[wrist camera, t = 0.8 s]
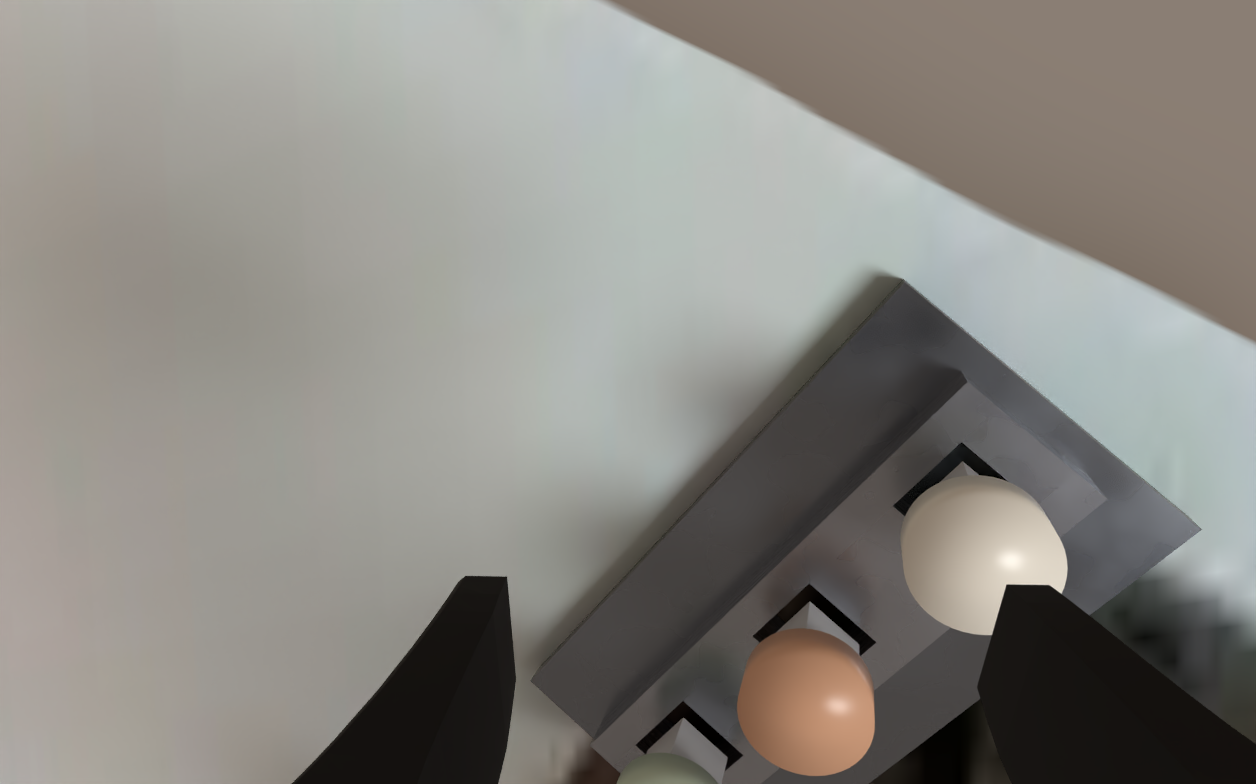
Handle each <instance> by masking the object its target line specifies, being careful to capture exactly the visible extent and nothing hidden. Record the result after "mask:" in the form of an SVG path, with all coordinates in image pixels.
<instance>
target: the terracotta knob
mask: <svg viewBox="0 0 1256 784" xmlns="http://www.w3.org/2000/svg"><path fill="white" fill-rule="evenodd" d="M737 713H738V719H739V723H740V726H741V728H742V731H743V733H744V735H745V736H746V738H747V740H748V741H749V743H750V744H751V745H752V746H753V748H754V749H755V750H756V751H757V752H758V753H759V754H760V755H762V756H763V757H764V758H765V759H766V760H768V761H769V762H771V763H773V764H774V765H776V766H778V767H780V768H782V769H784V770H787V771H790V772H793V773H797V774H801V775H807V776H825V775H831V774H835V773H838V772H841V771H844V770H846V769H848V768H850V767H851V766H853V765H854V764H856V763H857V762H858V761H859V760H860V759H861V758H862V757H863V756H864V755H865V753H866V752H867V751H868V749H869V747H870V745H871V742H872V740H873V736H874V730H875V714H874V687H873V681H872V677H871V674H870V672H869V670H868V667H867V666H866V664H865V662H864V661H863V659H862V658H861V657H860V656H859V644H858V643H857V642H856V641H855V640H853V639H852V638H851V637H850V636H849V635H848V634H847V633H845V632H844V631H843V630H842V629H841V628H840V627H839V626H837V625H836V624H835V623H834V622H833V621H832V620H831V619H830V618H828V617H827V616H826V615H825V614H824V613H823V612H822V611H820V610H819V609H818V608H817V607H816V606H815V605H814V604H812V603H811V602H809V603H807V604H806V605H805V606H804V607H803V608H802V609H801V610H800V611H799V612H798V613H797V614H795V615H794V616H793V617H792V618H791V619H790V620H789V621H788V622H787V623H786V624H785V625H783V626H782V627H781V628H780V629H779V630H778V631H777V632H776V633H775V634H772V635H770V636H769V637H767V638H765V639H764V640H763V641H761V642H760V643H759V644H758V645H757V646H756V647H755V648H754V650H753V651H752V653H751V654H750V656H749V658H748V661H747V664H746V667H745V671H744V675H743V679H742V683H741V687H740V691H739V695H738V701H737Z"/></svg>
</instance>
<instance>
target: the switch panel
mask: <svg viewBox="0 0 1256 784" xmlns="http://www.w3.org/2000/svg"><path fill="white" fill-rule="evenodd" d="M961 442H962V443H963V444H965V445H966V446H967V447H968V448H969V449H970V450H972V451H973V452H974V453H975V454H976V455H978V456H979V457H980V458H981V459H982V460H983V461H985V462H986V463H987V464H988V465H989V466H991V467H992V468H993V469H994V470H995V471H996V472H998V473H999V474H1000V475H1001V476H1002V477H1004V478H1005V479H1006V480H1007V481H1008V482H1010V483H1012V484H1014V485H1016V486H1018V487H1019V488H1021V489H1023V490H1024V491H1025V492H1027V493H1028V494H1029V495H1031V496H1032V497H1033V498H1034V499H1035V500H1036V501H1037V502H1038V504H1039V505H1040V506H1041V508H1042V509H1043V510H1044V512H1045V514H1046V516H1047V517H1048V519H1049V521H1050V522H1051V524H1052V526H1053V528H1054V529H1055V531H1056V533H1057V534H1058V536H1059V538H1060V540H1061V542H1062V544H1063V547H1064V549H1065V553H1066V557H1067V568H1068V569H1067V579H1066V583H1065V587H1064V589H1063V591H1062V595H1064V596H1065V597H1066V598H1068V599H1069V600H1070V601H1071V602H1073V603H1074V604H1075V605H1077V606H1078V607H1079V608H1080V609H1082V610H1083V611H1084V612H1085V613H1087V614H1088V615H1090V614H1092V613H1093V612H1094V611H1096V610H1097V609H1098V608H1100V607H1101V606H1102V605H1104V604H1105V603H1106V602H1107V601H1109V600H1110V599H1111V598H1113V597H1114V596H1115V595H1117V594H1118V593H1119V592H1121V591H1122V590H1123V589H1125V588H1126V587H1127V586H1128V585H1130V584H1131V583H1132V582H1134V581H1135V580H1136V579H1138V578H1139V577H1140V576H1142V575H1143V574H1144V573H1145V572H1147V571H1148V570H1149V569H1151V568H1152V567H1153V566H1155V565H1156V564H1157V563H1159V562H1160V561H1161V560H1163V559H1164V558H1165V557H1166V556H1168V555H1169V554H1170V553H1172V552H1173V551H1174V550H1176V549H1177V548H1178V547H1180V546H1181V545H1182V544H1183V543H1185V542H1186V541H1187V540H1189V539H1190V538H1191V537H1193V536H1194V535H1195V534H1197V533H1198V532H1199V531H1201V530H1202V529H1201V528H1200V527H1199V526H1198V525H1197V524H1196V523H1195V522H1193V521H1192V520H1191V519H1190V518H1189V517H1188V516H1187V515H1186V514H1185V513H1183V512H1182V511H1181V510H1180V509H1179V508H1177V507H1176V506H1175V505H1174V504H1173V503H1171V502H1170V501H1169V500H1168V499H1167V498H1165V497H1164V496H1163V495H1162V494H1161V493H1159V492H1158V491H1157V490H1156V489H1155V488H1153V487H1152V486H1151V485H1150V484H1149V483H1147V482H1146V481H1145V480H1144V479H1143V478H1141V477H1140V476H1139V475H1138V474H1137V473H1135V472H1134V471H1133V470H1132V469H1131V468H1129V467H1128V466H1127V465H1126V464H1125V463H1123V462H1122V461H1121V460H1120V459H1119V458H1117V457H1116V456H1115V455H1114V454H1113V453H1111V452H1110V451H1109V450H1108V449H1107V448H1105V447H1104V446H1103V445H1102V444H1101V443H1099V442H1098V441H1097V440H1096V439H1095V438H1093V437H1092V436H1091V435H1090V434H1089V433H1087V432H1086V431H1085V430H1084V429H1083V428H1081V427H1080V426H1079V425H1078V424H1077V423H1075V422H1074V421H1073V420H1072V419H1071V418H1069V417H1068V416H1067V415H1066V414H1065V413H1063V412H1062V411H1061V410H1060V409H1059V408H1057V407H1056V406H1055V405H1054V404H1053V403H1051V402H1050V401H1049V400H1048V399H1047V398H1045V397H1044V396H1043V395H1042V394H1041V393H1039V392H1038V391H1037V390H1036V389H1035V388H1033V387H1032V386H1031V385H1030V384H1029V383H1027V382H1026V381H1025V380H1024V379H1023V378H1021V377H1020V376H1019V375H1018V374H1017V373H1015V372H1014V371H1013V370H1012V369H1011V368H1009V367H1008V366H1007V365H1006V364H1005V363H1003V362H1002V361H1001V360H1000V359H999V358H997V357H996V356H995V355H994V354H993V353H991V352H990V351H989V350H988V349H987V348H985V347H984V346H983V345H982V344H981V343H979V342H978V341H977V340H976V339H975V338H973V337H972V336H971V335H970V334H969V333H967V332H966V331H965V330H964V329H963V328H961V327H960V326H959V325H958V324H957V323H955V322H954V321H953V320H952V319H951V318H949V317H948V316H947V315H946V314H945V313H944V312H942V311H941V310H940V309H939V308H938V307H936V306H935V305H934V304H933V303H932V302H930V301H929V300H928V299H927V298H926V297H924V296H923V295H922V294H921V293H920V292H918V291H917V290H916V289H915V288H914V287H912V286H911V285H910V284H909V283H908V282H906V281H905V280H904V279H903V280H902V281H901V283H900V284H899V285H898V286H897V287H896V288H895V289H894V290H893V291H892V292H891V293H890V294H889V295H888V296H887V297H886V299H885V300H884V301H883V302H882V303H881V304H880V305H879V306H878V307H877V308H876V309H875V310H874V311H873V312H872V313H871V315H870V316H869V317H868V318H867V319H866V320H865V321H864V322H863V323H862V324H861V325H860V326H859V327H858V328H857V329H856V331H855V332H854V333H853V334H852V335H851V336H850V337H849V338H848V339H847V340H846V341H845V342H844V343H843V344H842V345H841V347H840V348H839V349H838V350H837V351H836V352H835V353H834V354H833V355H832V356H831V357H830V358H829V359H828V360H827V361H826V363H825V364H824V365H823V366H822V367H821V368H820V369H819V370H818V371H817V372H816V373H815V374H814V375H813V376H812V377H811V379H810V380H809V381H808V382H807V383H806V384H805V385H804V386H803V387H802V388H801V389H800V390H799V391H798V392H797V393H796V395H795V396H794V397H793V398H792V399H791V400H790V401H789V402H788V403H787V404H786V405H785V406H784V407H783V408H782V409H781V411H780V412H779V413H778V414H777V415H776V416H775V417H774V418H773V419H772V420H771V421H770V422H769V423H768V424H767V425H766V427H765V428H764V429H763V430H762V431H761V432H760V433H759V434H758V435H757V436H756V437H755V438H754V439H753V440H752V441H751V443H750V444H749V445H748V446H747V447H746V448H745V449H744V450H743V451H742V452H741V453H740V454H739V455H738V456H737V457H736V459H735V460H734V461H733V462H732V463H731V464H730V465H729V466H728V467H727V468H726V469H725V470H724V471H723V472H722V473H721V475H720V476H719V477H718V478H717V479H716V480H715V481H714V482H713V483H712V484H711V485H710V486H709V487H708V488H707V489H706V491H705V492H704V493H703V494H702V495H701V496H700V497H699V498H698V499H697V500H696V501H695V502H694V503H693V504H692V505H691V507H690V508H689V509H688V510H687V511H686V512H685V513H684V514H683V515H682V516H681V517H680V518H679V519H678V520H677V521H676V523H675V524H674V525H673V526H672V527H671V528H670V529H669V530H668V531H667V532H666V533H665V534H664V535H663V536H662V538H661V539H660V540H659V541H658V542H657V543H656V544H655V545H654V546H653V547H652V548H651V549H650V550H649V551H648V552H647V554H646V555H645V556H644V557H643V558H642V559H641V560H640V561H639V562H638V563H637V564H636V565H635V566H634V567H633V568H632V570H631V571H630V572H629V573H628V574H627V575H626V576H625V577H624V578H623V579H622V580H621V581H620V582H619V583H618V584H617V586H616V587H615V588H614V589H613V590H612V591H611V592H610V593H609V594H608V595H607V596H606V597H605V598H604V599H603V600H602V602H601V603H600V604H599V605H598V606H597V607H596V608H595V609H594V610H593V611H592V612H591V613H590V614H589V615H588V616H587V618H586V619H585V620H584V621H583V622H582V623H581V624H580V625H579V626H578V627H577V628H576V629H575V630H574V631H573V632H572V634H571V635H570V636H569V637H568V638H567V639H566V640H565V641H564V642H563V643H562V644H561V645H560V646H559V647H558V648H557V650H556V651H555V652H554V653H553V654H552V655H551V656H550V657H549V658H548V659H547V660H546V661H545V662H544V663H543V664H542V666H541V667H540V668H539V669H538V671H537V672H536V673H535V675H534V676H533V678H532V679H531V682H532V683H534V684H535V685H536V686H537V687H538V688H539V689H540V690H541V691H542V692H543V693H544V694H546V695H547V696H548V697H549V698H550V699H551V700H552V701H553V702H554V703H555V704H556V705H558V706H559V707H560V708H561V709H562V710H563V711H564V712H565V713H566V714H567V715H569V716H570V717H571V718H572V719H573V720H574V721H575V722H576V723H577V724H578V725H579V726H581V727H582V728H583V729H584V730H585V731H586V732H587V733H588V734H589V735H590V736H591V737H593V740H592V742H591V744H590V746H591V747H592V748H593V749H594V750H595V751H597V752H598V753H599V754H600V755H601V756H602V757H603V758H604V759H605V760H606V761H607V762H609V763H610V764H611V765H612V766H613V767H614V768H615V769H616V770H617V771H618V772H619V773H621V772H622V771H623V769H624V768H625V767H626V766H627V765H628V764H629V763H630V762H631V761H632V760H634V759H636V758H638V757H640V756H642V755H645V754H646V753H647V751H648V749H649V748H650V747H651V746H653V745H654V744H655V743H656V742H657V741H658V740H659V739H660V738H661V737H662V736H663V735H665V734H666V733H667V732H668V731H669V730H670V729H671V728H672V727H673V726H674V724H673V723H671V722H670V721H669V720H668V719H667V718H666V716H667V715H668V714H669V713H670V712H671V711H673V710H674V709H675V708H676V707H677V706H678V705H679V704H680V703H681V702H682V701H684V702H685V703H686V704H687V705H688V706H689V707H690V708H692V709H693V710H694V711H695V712H696V713H697V714H698V715H699V716H700V717H702V718H703V719H704V720H705V721H706V722H707V723H708V724H709V725H710V726H712V727H713V728H714V729H715V730H716V731H717V732H718V733H719V734H720V735H721V736H723V737H724V738H723V739H722V740H721V741H720V742H719V743H718V744H717V745H715V746H716V747H717V748H718V749H719V750H720V751H721V752H722V753H723V754H724V755H725V756H727V757H728V759H727V763H726V767H725V771H724V775H723V779H722V784H869V783H870V782H872V781H873V780H874V779H876V778H877V777H878V776H879V775H881V774H882V773H883V772H885V771H886V770H887V769H889V768H890V767H891V766H893V765H894V764H895V763H897V762H898V761H899V760H900V759H902V758H903V757H904V756H906V755H907V754H908V753H910V752H911V751H912V750H914V749H915V748H916V747H917V746H919V745H920V744H921V743H923V742H924V741H925V740H927V739H928V738H929V737H931V736H932V735H933V734H935V733H936V732H937V731H938V730H940V729H941V728H942V727H944V726H945V725H946V724H948V723H949V722H950V721H952V720H953V719H954V718H955V717H957V716H958V715H959V714H961V713H962V712H963V711H965V710H966V709H967V708H969V707H970V706H971V705H973V704H974V703H975V702H976V701H978V700H979V699H980V696H979V692H978V689H977V685H978V681H979V678H980V674H981V671H982V667H983V664H984V660H985V657H986V654H987V650H988V647H989V643H990V640H991V636H992V635H978V634H971V633H966V632H962V631H959V630H956V629H953V628H951V627H949V626H946V625H944V624H943V623H941V622H939V621H937V620H936V619H934V618H933V617H932V616H931V615H929V614H928V613H927V612H926V611H925V610H924V609H923V608H922V607H921V606H920V605H919V604H918V602H917V601H916V600H915V599H914V597H913V595H912V594H911V592H910V590H909V588H908V585H907V583H906V579H905V576H904V569H903V560H902V551H901V542H900V538H901V528H902V524H903V521H904V518H905V515H906V513H907V512H908V510H909V508H910V507H911V505H912V504H913V502H914V501H915V500H913V499H912V498H911V497H910V496H909V495H908V494H906V493H907V492H908V491H909V490H910V489H911V488H912V487H914V486H915V485H916V484H917V483H918V482H919V481H920V480H921V479H922V478H923V477H924V476H925V475H926V474H928V473H929V472H930V471H931V470H932V469H933V468H934V467H935V466H936V465H937V464H938V463H939V462H940V461H942V460H943V459H944V458H945V457H946V456H947V455H948V454H949V453H950V452H951V451H952V450H953V449H954V448H956V447H957V446H958V445H959V444H960V443H961ZM808 584H810V585H812V586H813V587H814V588H815V589H816V590H817V591H818V592H820V593H821V594H822V595H823V596H824V597H825V598H826V599H828V600H829V601H830V602H831V603H832V604H833V605H834V606H836V607H837V608H838V609H839V610H840V611H841V612H842V613H844V614H845V615H846V616H847V617H848V618H849V619H850V620H852V621H853V622H854V623H855V624H854V625H853V626H851V627H850V628H849V629H848V630H847V631H846V632H845V633H847V634H848V635H849V636H850V637H851V638H852V639H853V640H855V641H856V642H857V643H858V644H859V656H860V657H861V658H862V659H863V661H864V662H865V664H866V666H867V667H868V670H869V672H870V674H871V677H872V681H873V687H874V714H875V730H874V736H873V740H872V742H871V745H870V747H869V749H868V751H867V752H866V753H865V755H864V756H863V757H862V758H861V759H860V760H859V761H858V762H857V763H856V764H854V765H853V766H851V767H850V768H848V769H846V770H844V771H841V772H838V773H835V774H831V775H825V776H807V775H801V774H797V773H793V772H790V771H787V770H784V769H782V768H780V767H778V766H776V765H774V764H773V763H771V762H769V761H768V760H766V759H765V758H764V757H763V756H762V755H760V754H759V753H758V752H757V751H756V750H755V749H754V748H753V746H752V745H751V744H750V743H749V741H748V740H747V738H746V736H745V735H744V733H743V731H742V728H741V726H740V723H739V719H738V713H737V701H738V695H739V691H740V687H741V683H742V679H743V675H744V671H745V667H746V664H747V661H748V658H749V656H750V654H751V653H752V651H753V650H754V648H755V647H756V646H757V645H758V644H759V643H760V642H761V641H763V640H764V639H765V638H767V637H769V636H770V635H772V634H775V633H776V632H777V631H778V630H779V629H780V628H781V627H782V626H783V625H785V624H786V623H785V622H784V621H783V620H782V619H781V618H779V617H778V616H777V615H776V614H777V613H778V612H779V611H780V610H781V609H782V608H783V607H784V606H786V605H787V604H788V603H789V602H790V601H791V600H792V599H793V598H794V597H795V596H796V595H797V594H798V593H799V592H801V591H802V590H803V589H804V588H805V587H806V586H807V585H808Z"/></svg>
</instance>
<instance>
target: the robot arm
mask: <svg viewBox="0 0 1256 784" xmlns="http://www.w3.org/2000/svg"><path fill="white" fill-rule="evenodd" d="M515 682H516V674H515V663H514V651H513V640H512V629H511V617H510V606H509V594H508V583H507V577H492V576H465V577H464V578H463V579H461V580H460V581H459V582H458V583H457V585H456V586H455V588H454V589H453V591H452V592H451V594H450V595H449V597H448V598H447V600H446V601H445V603H444V604H443V605H442V607H441V608H440V610H439V611H438V613H437V614H436V615H435V617H434V618H433V620H432V621H431V622H430V624H429V625H428V626H427V628H426V629H425V630H424V632H423V633H422V634H421V636H420V637H419V638H418V640H417V641H416V643H415V644H414V645H413V647H412V648H411V649H410V650H409V652H408V653H407V654H406V655H405V657H404V658H403V659H402V660H401V662H400V663H399V664H398V665H397V667H396V668H395V669H394V670H393V672H392V673H391V674H390V676H389V677H388V678H387V679H386V681H385V682H384V683H383V684H382V686H381V687H380V688H379V689H378V690H377V692H376V693H375V694H374V695H373V696H372V698H371V699H370V700H369V701H368V702H367V703H366V704H365V705H364V707H363V708H362V709H361V710H360V711H359V712H358V713H357V715H356V716H355V717H354V718H353V719H352V720H351V721H350V722H349V724H348V725H347V726H346V727H345V728H344V729H343V730H342V732H341V733H340V734H339V735H338V736H337V737H336V738H335V740H334V741H333V742H332V743H331V744H330V745H329V746H328V747H327V748H326V749H325V750H324V751H323V752H322V753H321V754H320V755H319V757H318V758H317V759H316V760H315V761H314V762H313V763H312V764H311V765H310V766H309V767H308V768H307V769H306V770H305V771H304V772H303V773H302V774H301V775H300V776H299V777H298V778H297V779H296V780H295V781H294V782H293V783H292V784H498V782H499V778H500V774H501V770H502V765H503V761H504V757H505V753H506V749H507V742H508V735H509V728H510V721H511V713H512V706H513V698H514V690H515ZM977 689H978V692H979V696H980V699H981V702H982V705H983V708H984V712H985V715H986V718H987V721H988V724H989V727H990V730H991V733H992V736H993V739H994V742H995V745H996V748H997V750H998V753H999V756H1000V759H1001V761H1002V763H1003V765H1004V767H1005V770H1006V772H1007V774H1008V776H1009V778H1010V781H1011V783H1012V784H1256V744H1255V743H1253V742H1252V741H1251V740H1249V739H1248V738H1246V737H1245V736H1244V735H1242V734H1241V733H1239V732H1238V731H1237V730H1235V729H1234V728H1232V727H1231V726H1230V725H1228V724H1227V723H1226V722H1224V721H1223V720H1222V719H1220V718H1219V717H1218V716H1216V715H1215V714H1214V713H1212V712H1211V711H1210V710H1208V709H1207V708H1206V707H1204V706H1203V705H1202V704H1200V703H1199V702H1198V701H1197V700H1195V699H1194V698H1193V697H1191V696H1190V695H1189V694H1187V693H1186V692H1185V691H1184V690H1182V689H1181V688H1180V687H1178V686H1177V685H1176V684H1175V683H1173V682H1172V681H1171V680H1169V679H1168V678H1167V677H1166V676H1164V675H1163V674H1162V673H1160V672H1159V671H1158V670H1157V669H1155V668H1154V667H1153V666H1152V665H1150V664H1149V663H1148V662H1147V661H1145V660H1144V659H1143V658H1142V657H1140V656H1139V655H1138V654H1137V653H1135V652H1134V651H1133V650H1132V649H1130V648H1129V647H1128V646H1127V645H1125V644H1124V643H1123V642H1122V641H1120V640H1119V639H1118V638H1117V637H1115V636H1114V635H1113V634H1112V633H1110V632H1109V631H1108V630H1107V629H1105V628H1104V627H1103V626H1102V625H1100V624H1099V623H1098V622H1097V621H1095V620H1094V619H1093V618H1092V617H1090V616H1089V615H1088V614H1087V613H1085V612H1084V611H1083V610H1082V609H1080V608H1079V607H1078V606H1077V605H1075V604H1074V603H1073V602H1071V601H1070V600H1069V599H1068V598H1066V597H1065V596H1064V595H1062V594H1061V593H1060V592H1058V591H1057V590H1056V589H1054V588H1053V587H1051V586H1050V585H1015V584H1006V588H1005V591H1004V595H1003V598H1002V602H1001V605H1000V609H999V612H998V615H997V619H996V622H995V626H994V629H993V633H992V636H991V640H990V643H989V647H988V650H987V654H986V657H985V660H984V664H983V667H982V671H981V674H980V678H979V681H978V685H977Z"/></svg>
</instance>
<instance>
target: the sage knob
mask: <svg viewBox="0 0 1256 784" xmlns="http://www.w3.org/2000/svg"><path fill="white" fill-rule="evenodd" d="M727 759H728V757H727V756H725V755H724V754H723V753H722V752H721V751H720V750H719V749H718V748H717V747H716V746H714V745H713V744H712V743H711V742H710V741H709V740H708V739H707V738H706V737H704V736H703V735H702V734H701V733H700V732H699V731H698V730H697V729H696V728H694V727H693V726H692V725H691V724H690V723H689V722H688V721H687V720H686V719H685V718H682V719H681V720H680V721H679V722H678V723H677V724H675V725H674V726H673V727H672V728H671V729H670V730H669V731H668V732H667V733H666V734H665V735H663V736H662V737H661V738H660V739H659V740H658V741H657V742H656V743H655V744H654V745H653V746H651V747H650V748H649V749H648V751H647V753H646V754H645V755H642V756H640V757H638V758H636V759H634V760H632V761H631V762H630V763H629V764H628V765H627V766H626V767H625V768H624V769H623V771H622V772H621V774H620V777H619V779H618V781H617V784H722V779H723V775H724V771H725V767H726V763H727Z"/></svg>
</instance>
